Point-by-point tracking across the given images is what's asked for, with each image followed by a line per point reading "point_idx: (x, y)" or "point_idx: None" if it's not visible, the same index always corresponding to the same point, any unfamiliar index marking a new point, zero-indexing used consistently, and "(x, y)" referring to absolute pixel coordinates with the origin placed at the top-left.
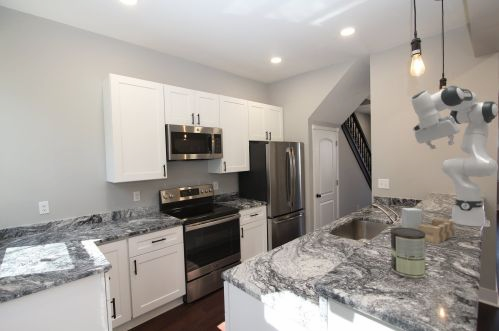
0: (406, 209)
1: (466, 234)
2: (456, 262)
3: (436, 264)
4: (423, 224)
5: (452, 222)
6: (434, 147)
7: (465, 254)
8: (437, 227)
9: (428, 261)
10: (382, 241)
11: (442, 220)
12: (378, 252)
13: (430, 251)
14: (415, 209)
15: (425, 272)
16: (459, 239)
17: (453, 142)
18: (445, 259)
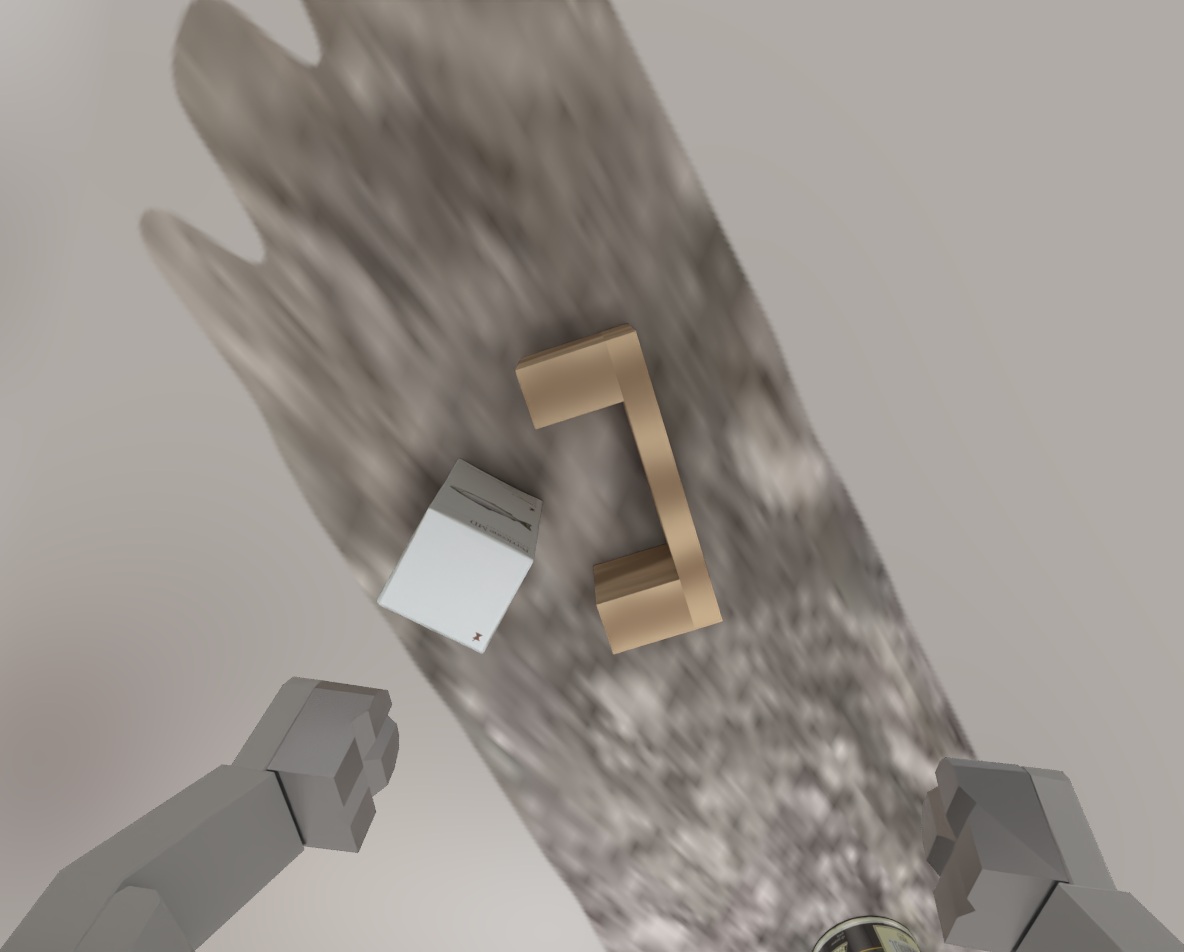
0: (455, 634)
1: (648, 216)
2: (897, 740)
3: (871, 825)
4: (612, 609)
5: (643, 356)
6: (375, 736)
7: (862, 614)
8: (703, 601)
9: (838, 826)
10: (557, 801)
11: (580, 376)
12: (675, 920)
13: (764, 718)
14: (487, 579)
15: (914, 941)
16: (701, 386)
17: (1070, 816)
18: (856, 749)
